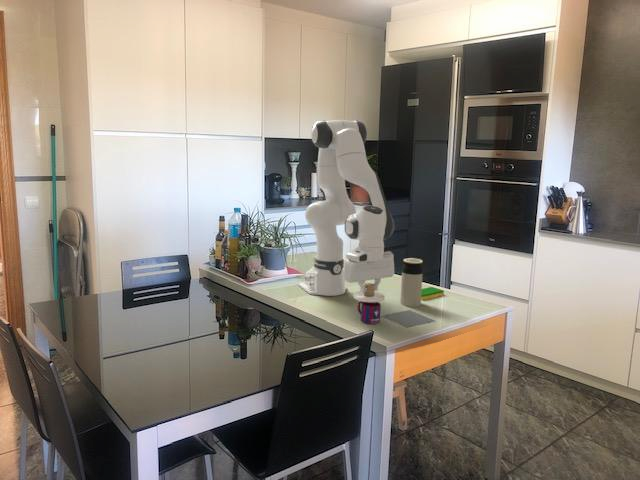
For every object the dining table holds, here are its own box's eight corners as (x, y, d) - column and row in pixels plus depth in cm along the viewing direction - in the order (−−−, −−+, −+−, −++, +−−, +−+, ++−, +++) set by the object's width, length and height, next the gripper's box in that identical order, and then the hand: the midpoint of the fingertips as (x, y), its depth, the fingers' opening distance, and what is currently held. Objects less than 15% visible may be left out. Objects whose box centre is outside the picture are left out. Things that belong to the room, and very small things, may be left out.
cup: (368, 326, 180) (369, 307, 179) (352, 317, 189) (352, 299, 187) (383, 323, 183) (384, 305, 182) (367, 315, 192) (368, 297, 191)
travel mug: (423, 306, 204) (427, 262, 200) (405, 308, 201) (408, 262, 198) (414, 300, 211) (417, 257, 208) (396, 302, 209) (399, 258, 206)
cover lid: (347, 295, 186) (347, 282, 185) (371, 291, 192) (372, 279, 191) (366, 304, 177) (366, 290, 176) (390, 299, 183) (391, 286, 182)
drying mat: (380, 316, 191) (381, 315, 190) (409, 310, 198) (409, 309, 198) (406, 328, 179) (407, 327, 179) (436, 321, 187) (436, 320, 187)
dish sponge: (409, 296, 218) (409, 291, 218) (431, 291, 226) (431, 286, 226) (422, 301, 212) (422, 295, 212) (444, 296, 221) (444, 290, 220)
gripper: (387, 249, 190) (385, 285, 192) (342, 254, 179) (340, 292, 181) (399, 252, 184) (397, 289, 187) (353, 257, 173) (351, 297, 176)
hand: (369, 291), depth 184 cm, fingers closed on cover lid, 3 cm apart
